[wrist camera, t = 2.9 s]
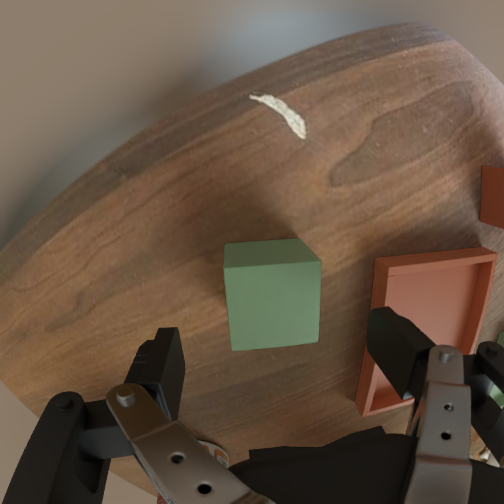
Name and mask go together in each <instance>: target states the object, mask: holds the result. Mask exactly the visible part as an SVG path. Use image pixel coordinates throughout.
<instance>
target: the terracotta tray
mask: <svg viewBox="0 0 504 504" xmlns="http://www.w3.org/2000/svg"><path fill="white" fill-rule="evenodd" d="M497 254H498V253H496V252H494V251H491V250H489V249H487V248H484V247H476V248H467V249H457V250H448V251H438V252H429V253H419V254H409V255H399V256H388V257H378V258H375V264H374V276H373V287H372V297H371V306H370V311H371V310H372V309H373V308H379V307H385V306H389V307H390V308H391V309H392V310H394V311H395V312H396V313H397V314H398V315H401V316H403V317H405V318H407V319H409V320H410V321H411V322H413V323H414V324H415V325H416V327H418V328H419V329H420V330H421V332H423V333H425V334H426V335H427V336H428V337H429V338H430V339H431V340H432V341H433V342H434V343H435V344H436V345H441V344H444V345H450V346H453V347H455V348H457V349H458V350H460V351H461V353H462V355H470V354H473V352H474V349H475V346H476V343H477V340H478V337H479V333H480V330H481V327H482V323H483V320H484V316H485V312H486V308H487V304H488V300H489V296H490V292H491V287H492V282H493V277H494V272H495V266H496V260H497ZM369 316H370V315H369ZM368 324H369V323H368ZM367 331H368V330H367ZM366 338H367V337H366ZM413 402H414V398H413V397H411V398H408V399H405V400H401V398H400V397H399V395H398V394H397V392H396V391H395V390H394V388H393V387H392V385H391V384H390V382H389V381H388V380H387V378H386V377H385V375H384V374H383V373H382V371H381V370H380V368H379V367H378V366H377V364H376V363H375V361H374V360H373V359H372V357H371V356H370V354H369V353H368V350H367V346H366V344H365V350H364V356H363V362H362V368H361V373H360V378H359V383H358V388H357V393H356V398H355V405H356V407H357V409H358V411H359V413H360V415H361V417H362V418H363V417H367V416H370V415H374V414H378V413H382V412H385V411H388V410H392V409H395V408H398V407H402V406H405V405H408V404H411V403H413Z"/></svg>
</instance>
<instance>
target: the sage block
mask: <svg viewBox="0 0 504 504" xmlns="http://www.w3.org/2000/svg"><path fill="white" fill-rule="evenodd" d="M223 272H224V283H225V294H226V304H227V314H228V323H229V333H230V342H231V350H232V351H239V350H251V349H262V348H273V347H282V346H291V345H299V344H307V343H315V342H318V334H319V315H320V289H321V260H320V259H319V258H318V257H317V256H316V255H315V254H314V253H313V252H312V251H311V250H310V249H309V247H308V246H307V245H306V244H305V243H304V242H303V241H302V240H301V239H300V238H295V239H280V240H266V241H252V242H238V243H225V247H224V263H223Z"/></svg>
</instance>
